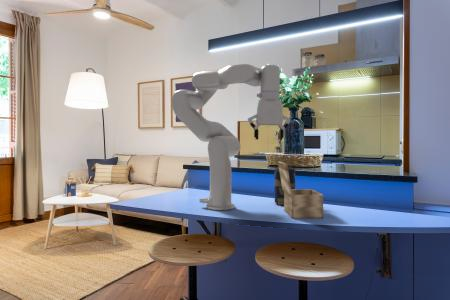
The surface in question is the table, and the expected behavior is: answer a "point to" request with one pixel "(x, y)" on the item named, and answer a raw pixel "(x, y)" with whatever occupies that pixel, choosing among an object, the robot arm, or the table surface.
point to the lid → (284, 177)
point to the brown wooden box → (303, 203)
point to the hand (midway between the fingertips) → (268, 139)
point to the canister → (278, 186)
